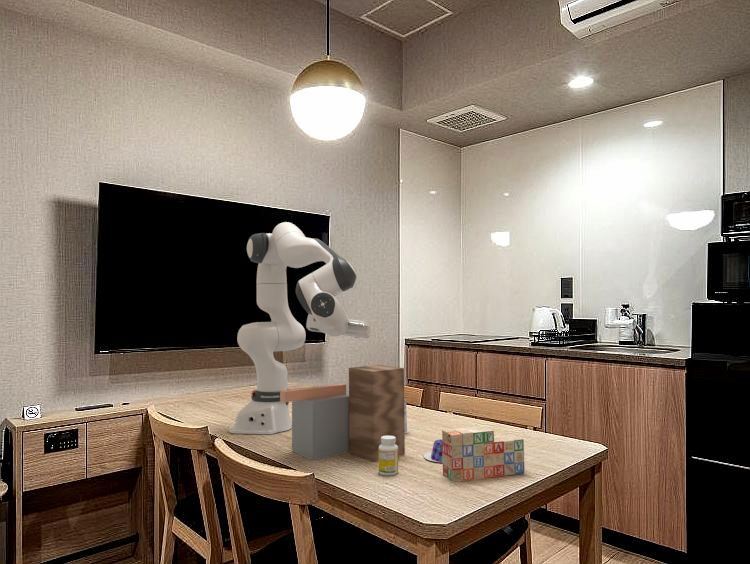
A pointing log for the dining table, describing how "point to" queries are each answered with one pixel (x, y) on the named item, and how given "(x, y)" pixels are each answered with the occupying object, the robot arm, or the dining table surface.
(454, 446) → the stack of blocks
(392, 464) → the supplement bottle
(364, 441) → the stand
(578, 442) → the dining table surface
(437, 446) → the pudding
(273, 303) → the robot arm
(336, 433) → the pedestal
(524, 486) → the dining table surface
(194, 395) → the dining table surface
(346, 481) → the dining table surface
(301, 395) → the rail
